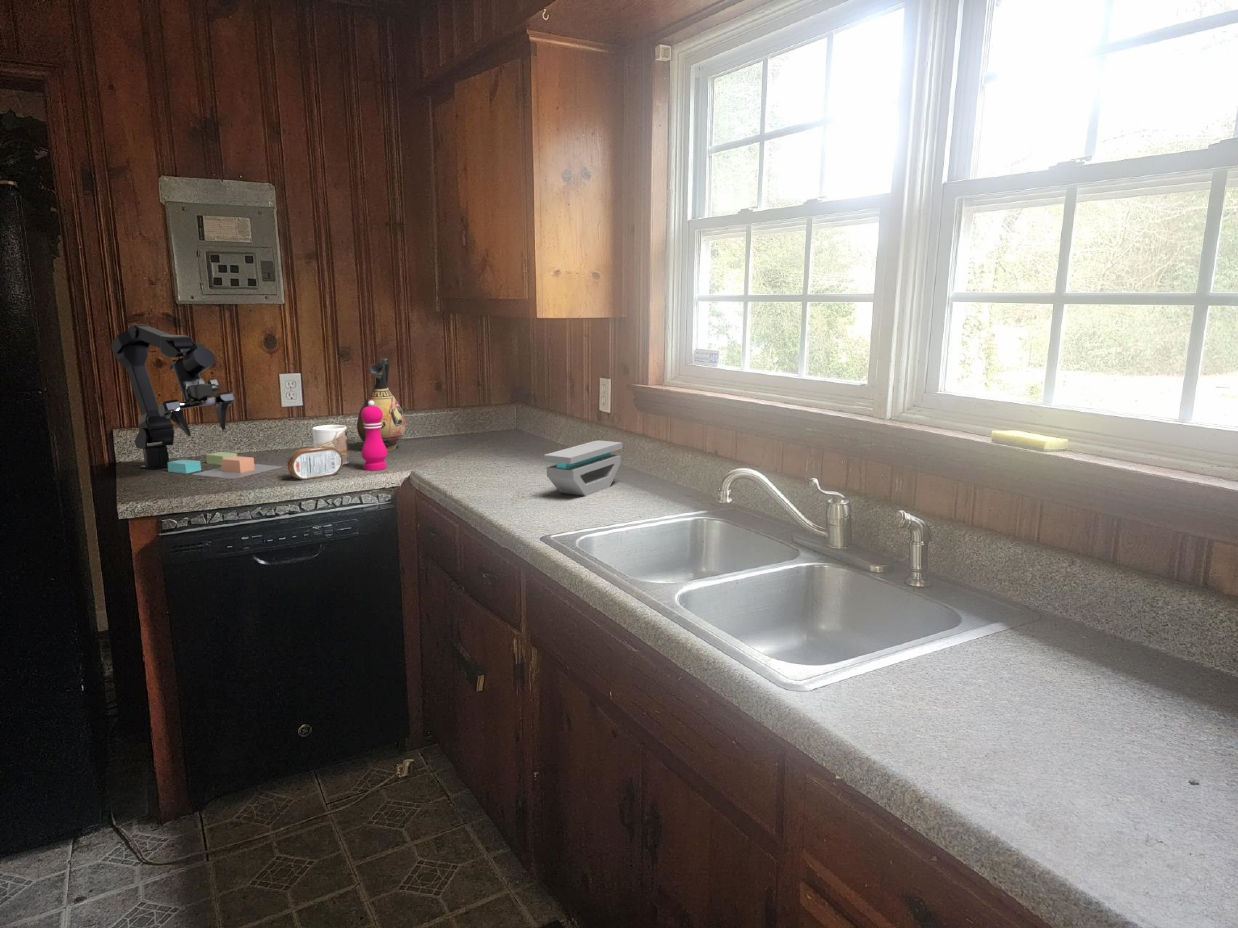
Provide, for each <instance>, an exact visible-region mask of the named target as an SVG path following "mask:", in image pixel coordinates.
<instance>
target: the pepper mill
mask: <svg viewBox="0 0 1238 928" xmlns="http://www.w3.org/2000/svg"><path fill="white" fill-rule="evenodd" d="M368 405H369V406H367V407H365V408H364V409H363V410H362V412H361V418H362V419H363V420H364V422H365V423H364V428H365V430H366V438H365V442H363V445H362V449H361V457H362V459H363V460H364V461H365V462H364V463H363V469H364V470H365V471H381V470H385V469H387V462H386V461H385V459H386V458H387V456H388V451H387V449H386V447H385V445H384V443H383V441H382V438H381V433H380V428H381V427H382V426H381V422H380V421H381V419H382V417H383V413H382V410H381V409H380V408H379V407H377V406H374V401H369V402H368Z"/></svg>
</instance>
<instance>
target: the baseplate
mask: <svg viewBox="0 0 1238 928" xmlns="http://www.w3.org/2000/svg"><path fill="white" fill-rule="evenodd" d="M280 468H283V465H280V466H279V465H269V464H258V463H254V469H255V470H251V471H247V472H242V473H236V472H226V471H222V467H218V468H217V467H216V468H213V469H209V470H205V471H200V472H199V471H198V472H196V473H195V472H194V473H191V475H194V476H204V477H212V478H221V479H222V478H223V479H231V480H232V479H233V480H235V479H239V478H242V477H247V476H251V475H255V474H256V475H257V474H259V473H263V472H268V471H272V470H277V469H280Z"/></svg>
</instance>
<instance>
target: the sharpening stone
mask: <svg viewBox="0 0 1238 928" xmlns="http://www.w3.org/2000/svg"><path fill="white" fill-rule="evenodd" d="M621 449H623V442H620V441H609V440H608V441H607V440H598V439H597V440H593V441H589V442H587V443H582V444H578V445H575V446H570V447H567V448H565V449H564V448H563V449H559V450H558V451H557V450H556V451H553V452H549V453H546V454H543V461H544V462H548V463H555V464H553V465H550V466H547V467H546V477H547V479H548V480H549V481H551V483H552V485H553V486H554V487H555V488H556V489H557V491H559V493H560V494H569V495H574V496H575V495H576V496H582V497H589V496H590V495H593V494H595V493H598V492H600V491H603V490H606V489H609V488H611V485H612V483H613V481H614V480H615V479H614V478H615V477H616V474H617V472H618V470H619V468H620V466H621V455H619V454H612V453H613V452H615V451H617V450H621Z"/></svg>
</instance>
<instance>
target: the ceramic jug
mask: <svg viewBox="0 0 1238 928" xmlns="http://www.w3.org/2000/svg"><path fill="white" fill-rule="evenodd" d="M368 371H369V373H370V374H371V375H373V376H374V377H375V384H374V387H373V389H372V390H371V392H370V393H369V394H368V396H367V398H366V400H365V401H364V402H363V404H362V406H361V408H360V410H359V413H358V416H357V423H356V431H357V433H358V436H359V438H360V440H361V441H362V442H363V443H364V442H365V438H366V430H365V428H364V423H365V422H364V420H363V419H362V418H361V412H362V410H363V409H364V408H365V407H367V406H369V405H368V402H369V401H374V406H377V407H379V408H380V409H381V410H382V413H383V417H382V419H381V421H380V422H381V426H382V427H381V428H380V433H381V438H382V441H383V443H384V445H385V447H386V449H387V452H390V451H391V452H392V451H394V450H396V448H397V445H398V444H399V442H400V441H401V440H402V438H403V437H404V435H405V432H406V427H407V426H406V425H407V424H406V418H405V414H404V412H403V408H402V407H401V406H400V403H399V401H397V399H396V398H395V396H394V395H393V394H392V393H391V391H390V390H389V387H388V380H389V375H390V374H389V373H390V359H388V358H386V357H383V358H380V359H379V360H378V362H377V364H376V363H372V364H371V365H370V366H369V368H368Z"/></svg>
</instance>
